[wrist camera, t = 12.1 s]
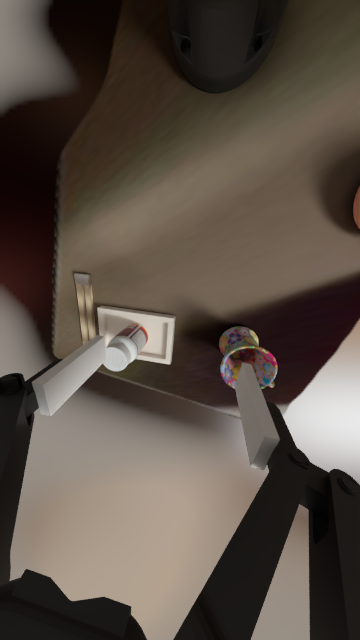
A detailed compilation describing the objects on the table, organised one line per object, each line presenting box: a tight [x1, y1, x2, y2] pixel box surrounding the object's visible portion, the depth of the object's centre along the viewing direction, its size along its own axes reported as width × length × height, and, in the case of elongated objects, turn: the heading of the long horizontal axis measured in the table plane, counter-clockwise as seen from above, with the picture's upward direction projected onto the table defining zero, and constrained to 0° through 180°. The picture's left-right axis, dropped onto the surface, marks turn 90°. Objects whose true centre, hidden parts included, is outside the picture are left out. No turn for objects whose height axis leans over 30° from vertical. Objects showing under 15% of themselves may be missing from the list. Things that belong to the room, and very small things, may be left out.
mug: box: [219, 326, 277, 389], centre depth 34 cm, size 12×9×11 cm
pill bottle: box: [103, 324, 149, 371], centre depth 36 cm, size 6×6×11 cm
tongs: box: [74, 273, 96, 344], centre depth 41 cm, size 18×3×1 cm, turn 174°
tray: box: [97, 305, 176, 365], centre depth 41 cm, size 12×18×2 cm, turn 84°
